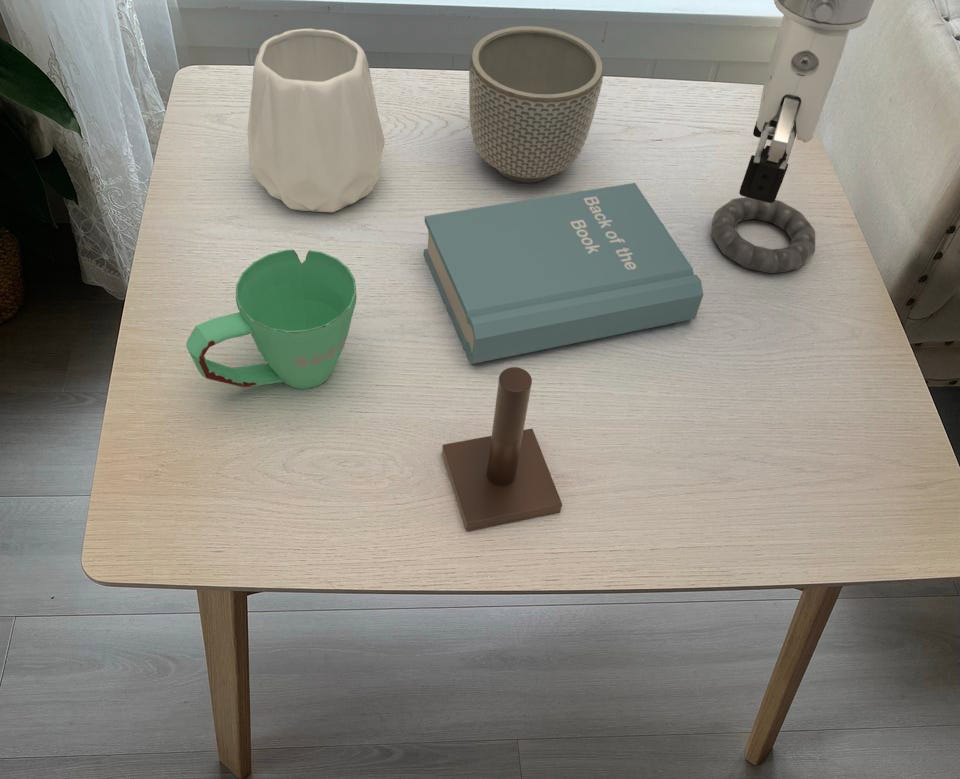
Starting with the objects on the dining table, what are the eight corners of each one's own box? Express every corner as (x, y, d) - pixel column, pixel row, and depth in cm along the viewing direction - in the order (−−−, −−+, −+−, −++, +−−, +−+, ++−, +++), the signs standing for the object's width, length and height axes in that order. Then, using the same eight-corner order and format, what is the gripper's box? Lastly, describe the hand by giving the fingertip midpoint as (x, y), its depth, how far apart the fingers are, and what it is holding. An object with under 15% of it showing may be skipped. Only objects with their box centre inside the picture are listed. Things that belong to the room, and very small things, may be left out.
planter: (606, 189, 105) (628, 86, 95) (491, 214, 101) (502, 109, 91) (553, 119, 113) (568, 17, 103) (444, 139, 109) (449, 35, 99)
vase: (378, 229, 98) (377, 101, 87) (241, 219, 98) (221, 90, 86) (390, 147, 107) (390, 22, 96) (264, 138, 107) (249, 11, 95)
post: (531, 436, 82) (550, 331, 72) (560, 512, 78) (585, 411, 67) (441, 452, 81) (448, 347, 70) (466, 531, 76) (477, 431, 66)
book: (625, 220, 102) (634, 182, 98) (692, 325, 93) (705, 287, 89) (423, 254, 96) (424, 216, 93) (472, 370, 87) (476, 332, 83)
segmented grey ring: (781, 204, 106) (788, 186, 104) (829, 269, 99) (837, 252, 97) (693, 216, 103) (698, 198, 102) (736, 283, 97) (743, 266, 95)
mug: (325, 314, 90) (319, 234, 82) (380, 381, 85) (378, 302, 78) (179, 376, 84) (158, 296, 76) (229, 452, 79) (211, 374, 71)
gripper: (868, 53, 69) (793, 233, 82) (878, -47, 80) (811, 126, 93) (766, 31, 71) (708, 212, 84) (790, -65, 81) (735, 108, 94)
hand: (762, 166), depth 88 cm, fingers open, 9 cm apart
